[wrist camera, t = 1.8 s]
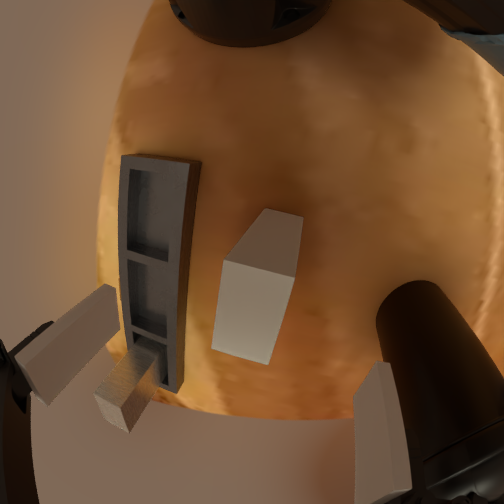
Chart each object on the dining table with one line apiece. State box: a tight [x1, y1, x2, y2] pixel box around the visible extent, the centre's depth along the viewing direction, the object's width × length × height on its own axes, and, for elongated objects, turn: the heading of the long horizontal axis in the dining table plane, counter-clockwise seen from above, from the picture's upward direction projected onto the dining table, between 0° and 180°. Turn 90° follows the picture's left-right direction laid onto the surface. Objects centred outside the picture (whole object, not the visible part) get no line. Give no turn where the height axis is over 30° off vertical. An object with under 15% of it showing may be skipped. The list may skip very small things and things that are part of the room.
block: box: [211, 208, 304, 365], centre depth 19 cm, size 6×4×12 cm, turn 170°
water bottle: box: [376, 280, 504, 504], centre depth 14 cm, size 10×10×23 cm
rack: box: [94, 154, 201, 433], centre depth 24 cm, size 30×8×13 cm, turn 170°
